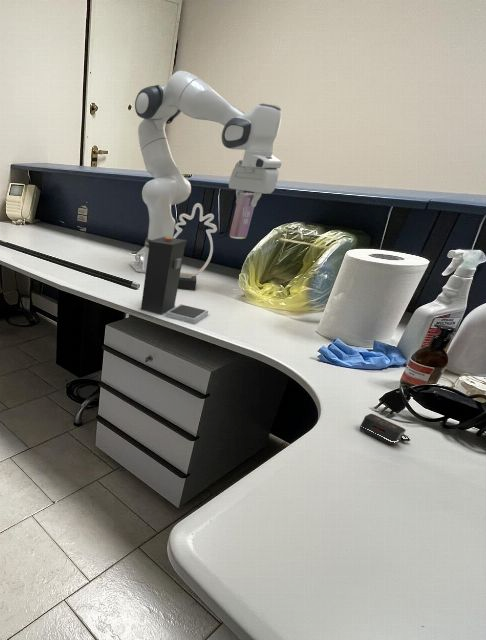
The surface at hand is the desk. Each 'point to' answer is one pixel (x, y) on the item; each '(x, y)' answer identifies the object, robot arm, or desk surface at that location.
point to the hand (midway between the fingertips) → (245, 205)
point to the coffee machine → (166, 280)
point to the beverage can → (242, 216)
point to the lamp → (190, 279)
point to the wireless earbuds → (383, 429)
